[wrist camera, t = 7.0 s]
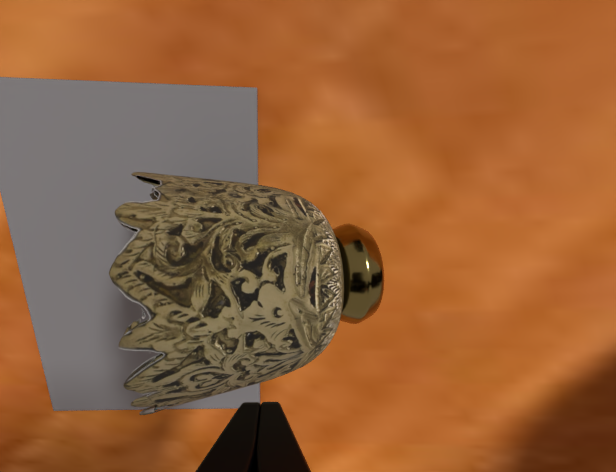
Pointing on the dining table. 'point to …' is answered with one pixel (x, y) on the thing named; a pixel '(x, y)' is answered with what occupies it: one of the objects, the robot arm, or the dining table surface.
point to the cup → (235, 285)
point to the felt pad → (104, 211)
